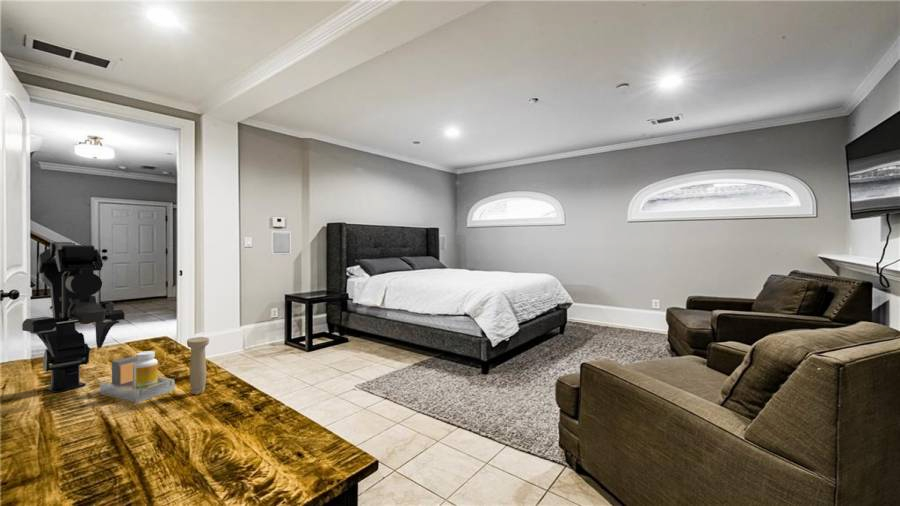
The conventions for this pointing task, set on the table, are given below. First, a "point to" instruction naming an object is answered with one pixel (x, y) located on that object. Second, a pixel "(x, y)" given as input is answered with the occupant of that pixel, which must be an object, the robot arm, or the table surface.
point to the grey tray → (124, 383)
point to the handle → (197, 364)
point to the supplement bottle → (145, 370)
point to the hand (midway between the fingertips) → (77, 352)
